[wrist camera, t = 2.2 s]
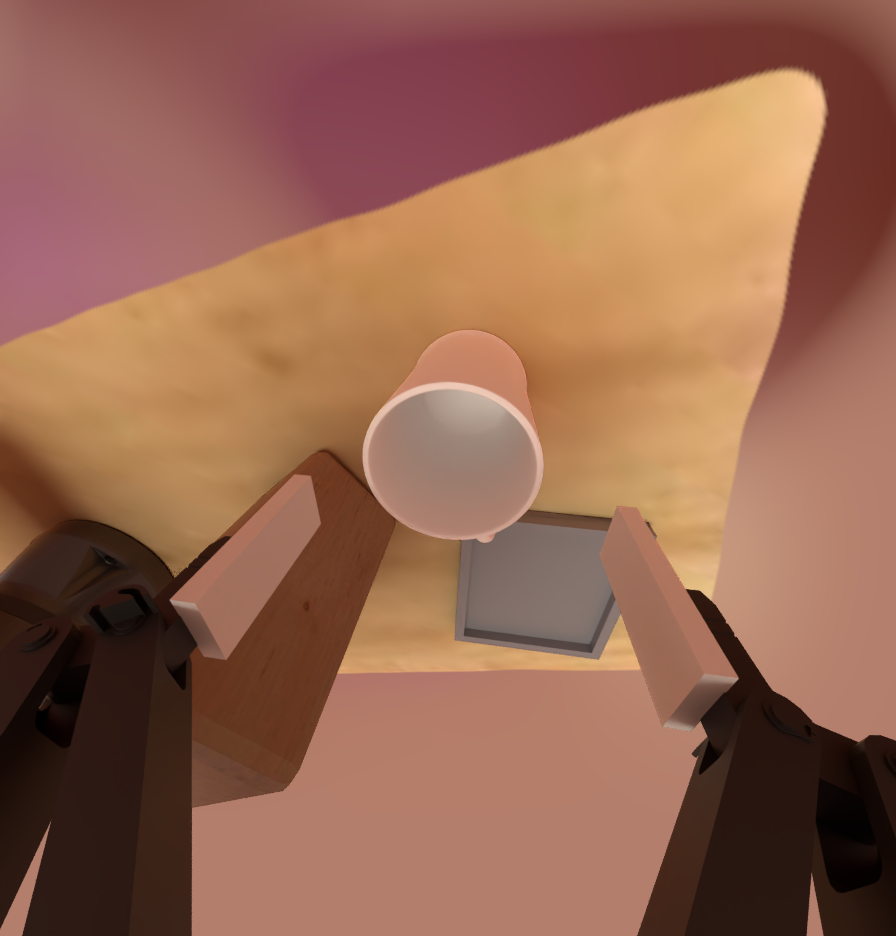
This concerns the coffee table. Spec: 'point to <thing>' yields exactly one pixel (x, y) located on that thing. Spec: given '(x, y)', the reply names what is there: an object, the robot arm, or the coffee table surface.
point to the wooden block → (287, 647)
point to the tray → (538, 586)
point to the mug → (457, 441)
